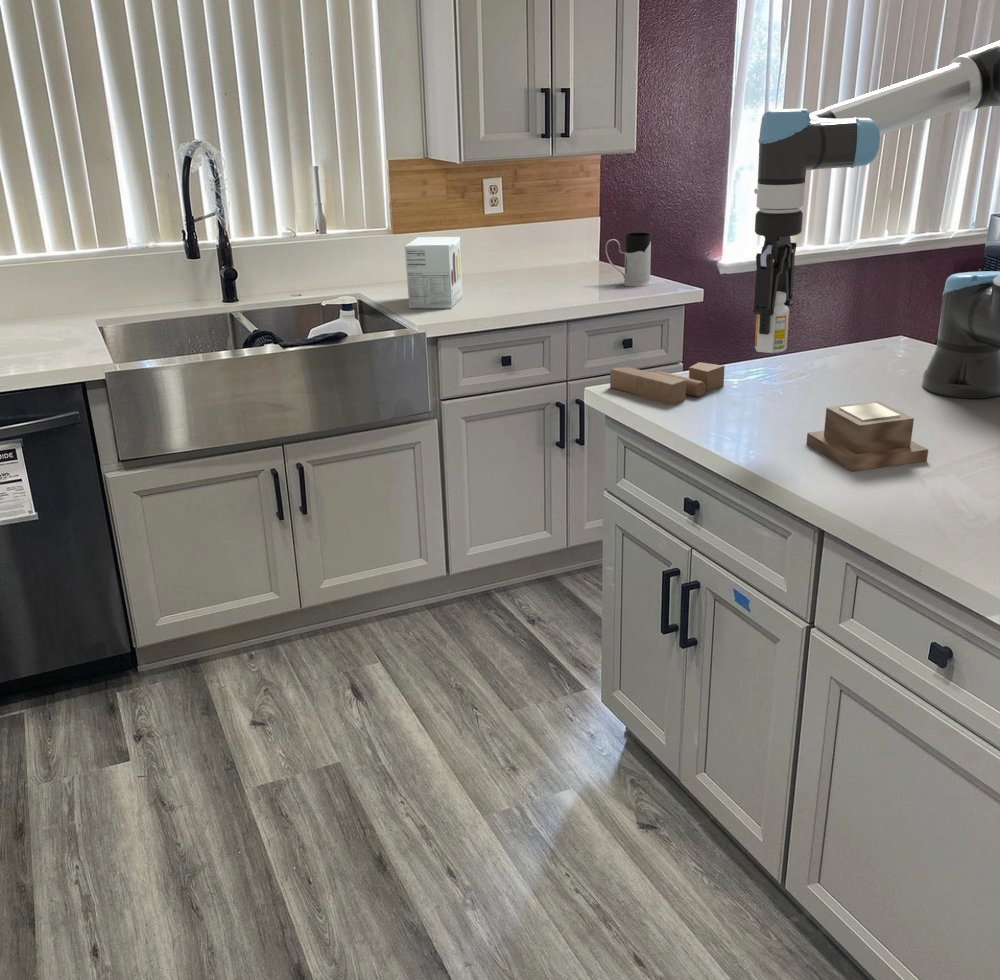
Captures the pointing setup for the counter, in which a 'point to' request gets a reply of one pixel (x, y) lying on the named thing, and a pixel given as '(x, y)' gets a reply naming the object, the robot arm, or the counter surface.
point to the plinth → (867, 457)
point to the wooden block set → (668, 382)
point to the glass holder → (636, 259)
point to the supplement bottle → (778, 323)
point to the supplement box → (434, 272)
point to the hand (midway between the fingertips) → (770, 347)
